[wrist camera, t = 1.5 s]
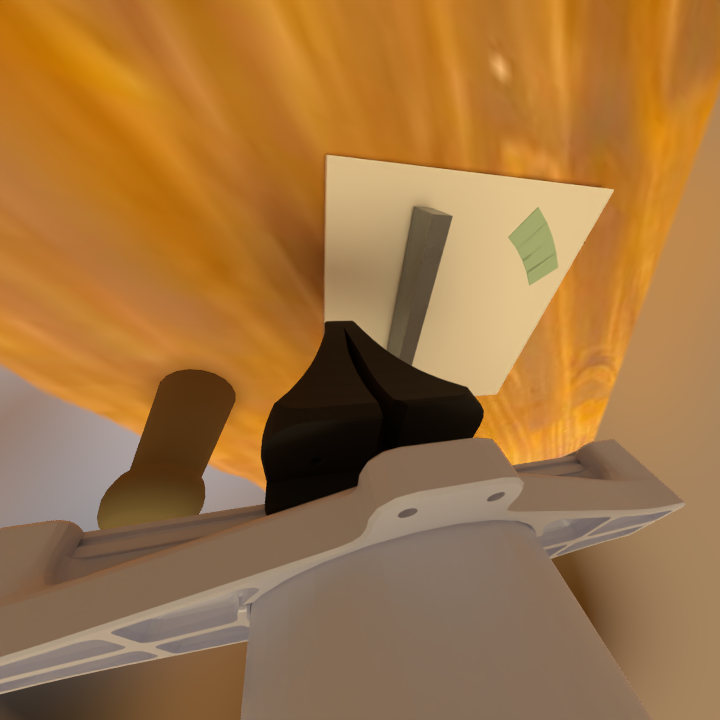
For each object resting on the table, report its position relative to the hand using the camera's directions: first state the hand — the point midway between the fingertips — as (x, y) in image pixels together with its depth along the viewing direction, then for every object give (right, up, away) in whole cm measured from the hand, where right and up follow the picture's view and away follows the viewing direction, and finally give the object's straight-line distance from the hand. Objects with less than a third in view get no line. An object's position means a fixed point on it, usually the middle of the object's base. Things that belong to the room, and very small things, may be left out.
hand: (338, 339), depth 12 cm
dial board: (+8, +3, +10) cm, 13 cm away
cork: (-13, -4, +11) cm, 18 cm away
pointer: (+4, +3, +8) cm, 10 cm away
